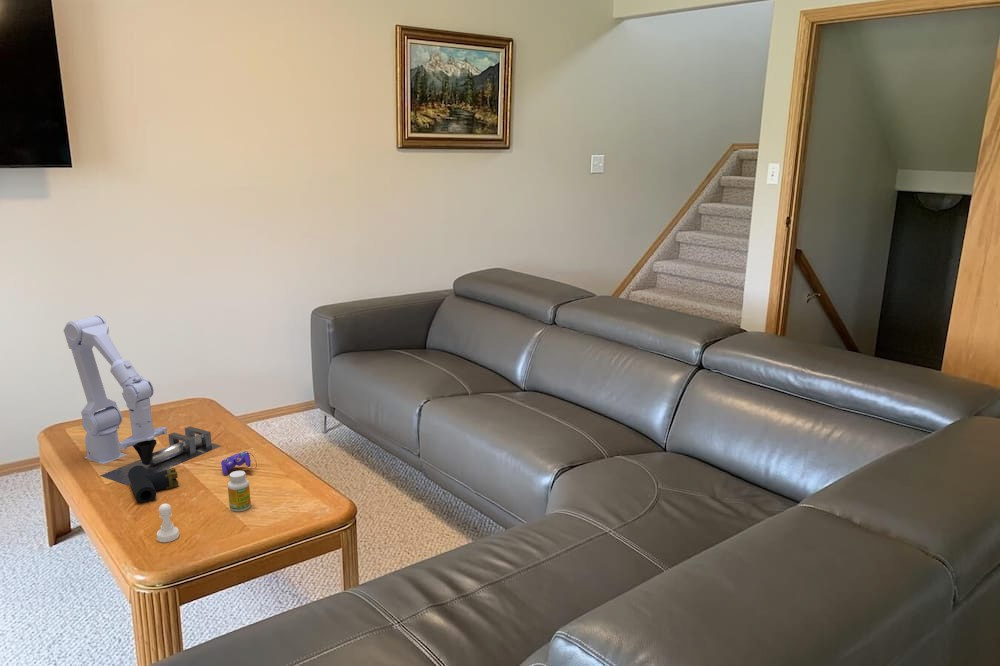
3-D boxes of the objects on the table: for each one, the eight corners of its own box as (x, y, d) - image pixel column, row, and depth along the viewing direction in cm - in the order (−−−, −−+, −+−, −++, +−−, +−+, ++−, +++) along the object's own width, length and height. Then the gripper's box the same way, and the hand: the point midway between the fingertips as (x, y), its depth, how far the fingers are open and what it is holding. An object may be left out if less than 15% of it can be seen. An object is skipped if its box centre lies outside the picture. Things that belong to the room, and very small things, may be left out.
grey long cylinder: (154, 467, 223) (154, 456, 222) (146, 463, 224) (146, 452, 223) (204, 446, 238) (204, 436, 237) (197, 443, 240) (197, 432, 238)
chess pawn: (166, 531, 187) (163, 498, 185) (183, 534, 186) (180, 501, 183) (152, 540, 182) (148, 507, 180) (169, 544, 181) (165, 510, 179)
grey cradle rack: (99, 477, 217) (97, 458, 215) (194, 439, 244) (192, 422, 243) (128, 487, 210) (125, 468, 209) (222, 447, 238) (220, 430, 237)
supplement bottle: (238, 513, 196) (235, 479, 193) (225, 508, 199) (222, 475, 196) (255, 505, 200) (252, 472, 198) (241, 500, 203) (239, 467, 201)
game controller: (214, 471, 213) (216, 451, 221) (226, 492, 217) (228, 471, 225) (248, 458, 214) (249, 439, 223) (260, 479, 218) (260, 460, 227)
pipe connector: (170, 458, 216) (181, 479, 204) (172, 475, 218) (182, 496, 206) (127, 467, 210) (134, 488, 198) (128, 484, 212) (137, 506, 199)
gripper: (127, 431, 211) (133, 475, 214) (171, 415, 223) (176, 458, 226) (111, 426, 214) (117, 470, 218) (156, 411, 226) (161, 453, 230)
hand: (146, 463), depth 222 cm, fingers closed
